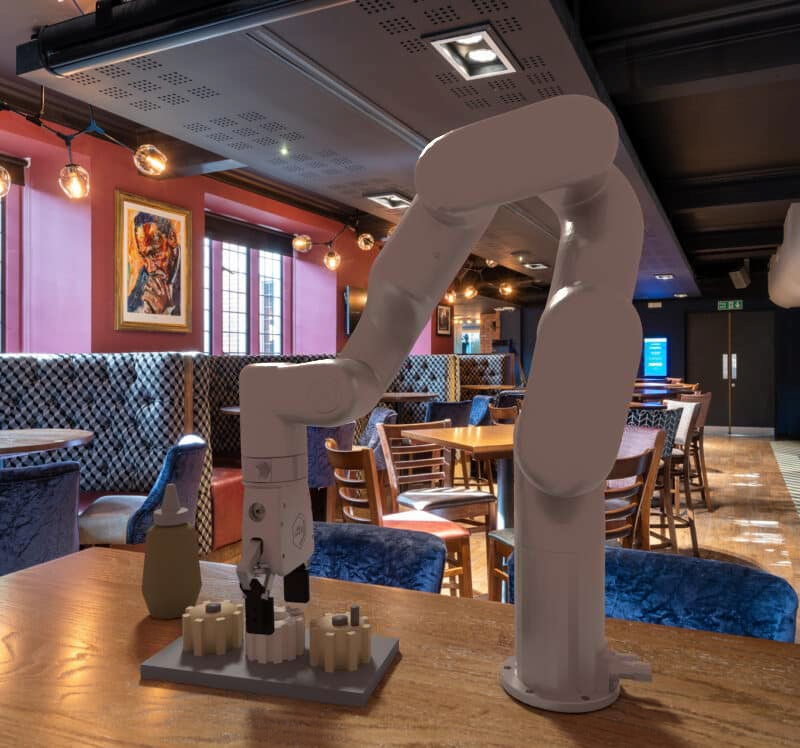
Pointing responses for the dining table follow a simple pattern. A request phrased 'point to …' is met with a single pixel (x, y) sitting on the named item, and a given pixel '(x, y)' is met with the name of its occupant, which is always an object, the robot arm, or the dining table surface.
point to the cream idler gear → (278, 638)
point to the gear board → (299, 678)
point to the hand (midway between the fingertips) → (279, 616)
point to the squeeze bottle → (171, 560)
